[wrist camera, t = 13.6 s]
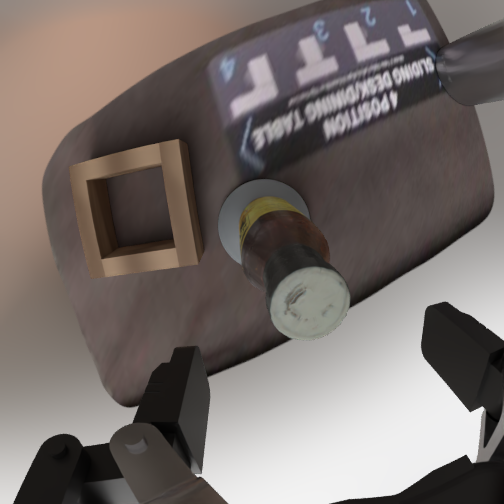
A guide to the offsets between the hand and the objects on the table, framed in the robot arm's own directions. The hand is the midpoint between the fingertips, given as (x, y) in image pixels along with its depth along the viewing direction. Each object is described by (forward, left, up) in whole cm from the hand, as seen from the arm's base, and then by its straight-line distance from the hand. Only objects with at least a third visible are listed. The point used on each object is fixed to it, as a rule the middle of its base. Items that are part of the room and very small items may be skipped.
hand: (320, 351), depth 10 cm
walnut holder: (+13, -4, -25) cm, 28 cm away
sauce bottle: (0, 0, -25) cm, 25 cm away
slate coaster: (0, 0, -25) cm, 25 cm away
